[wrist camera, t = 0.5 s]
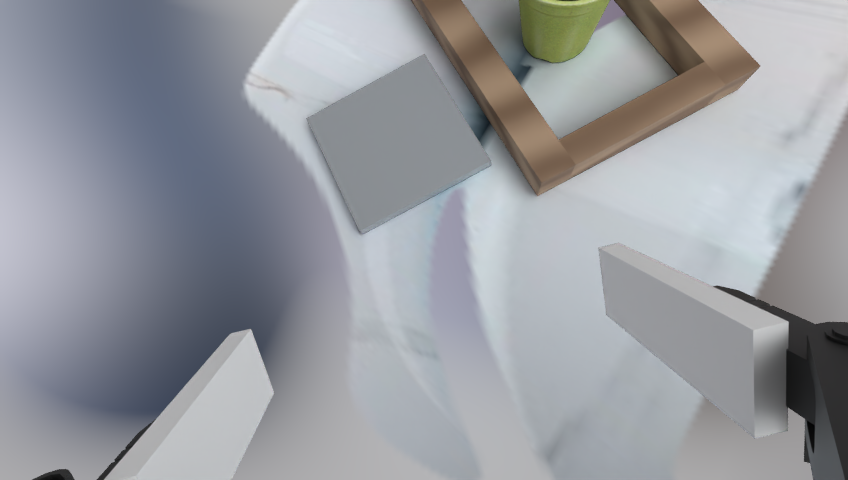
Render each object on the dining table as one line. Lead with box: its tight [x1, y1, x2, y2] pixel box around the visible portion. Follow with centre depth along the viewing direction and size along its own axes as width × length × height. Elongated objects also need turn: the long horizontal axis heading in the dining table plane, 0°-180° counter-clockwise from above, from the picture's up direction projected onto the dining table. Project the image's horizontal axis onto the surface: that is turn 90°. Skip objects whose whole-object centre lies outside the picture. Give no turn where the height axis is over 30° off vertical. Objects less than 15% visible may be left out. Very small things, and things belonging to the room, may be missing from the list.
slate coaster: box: [306, 54, 491, 234], centre depth 37 cm, size 13×13×1 cm
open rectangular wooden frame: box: [411, 0, 760, 196], centre depth 36 cm, size 26×19×3 cm
